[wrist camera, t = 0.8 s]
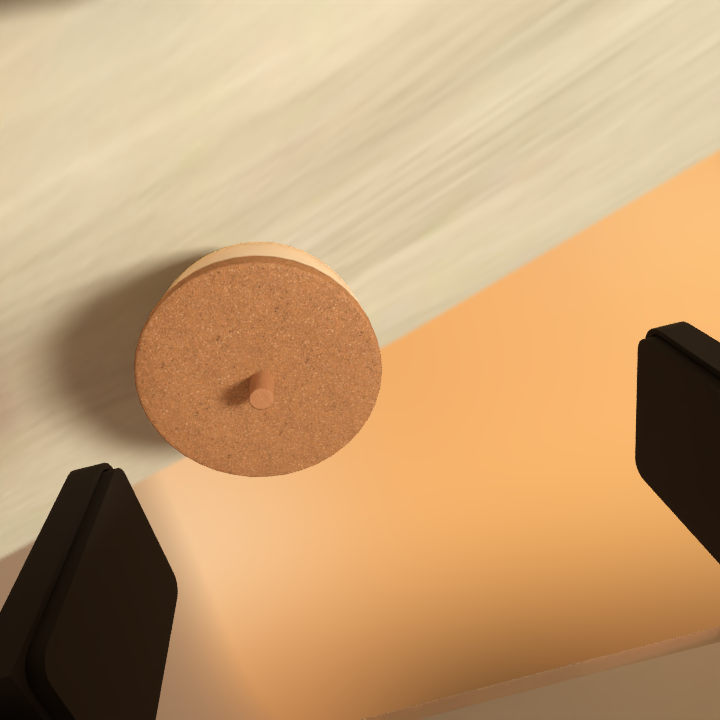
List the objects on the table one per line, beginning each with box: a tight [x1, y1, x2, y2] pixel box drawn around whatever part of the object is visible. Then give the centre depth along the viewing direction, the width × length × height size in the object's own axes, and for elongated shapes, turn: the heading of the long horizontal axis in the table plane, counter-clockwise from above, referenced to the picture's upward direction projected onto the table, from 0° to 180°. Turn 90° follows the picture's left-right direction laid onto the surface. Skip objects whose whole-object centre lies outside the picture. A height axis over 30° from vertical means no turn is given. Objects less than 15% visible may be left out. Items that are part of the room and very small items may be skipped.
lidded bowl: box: [134, 242, 382, 477], centre depth 33 cm, size 13×13×11 cm
